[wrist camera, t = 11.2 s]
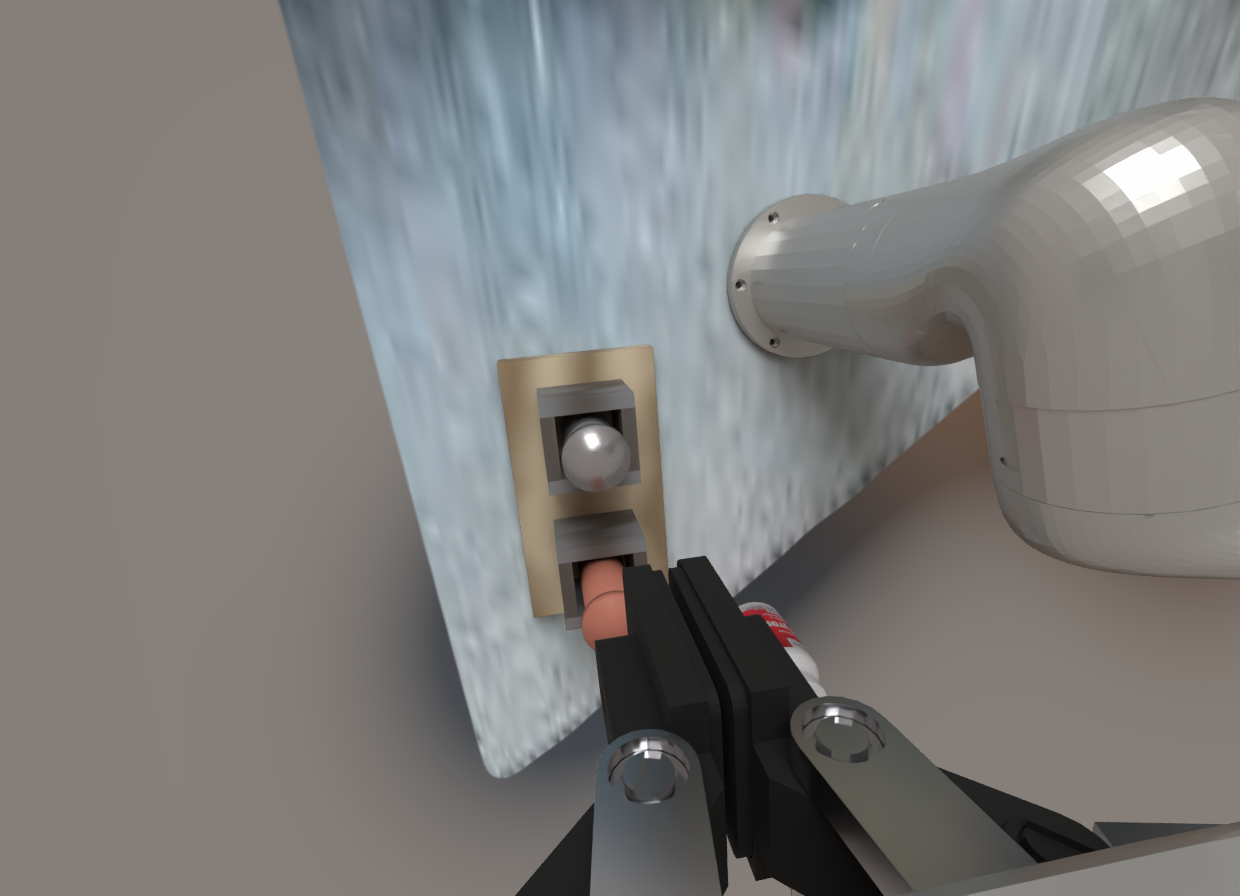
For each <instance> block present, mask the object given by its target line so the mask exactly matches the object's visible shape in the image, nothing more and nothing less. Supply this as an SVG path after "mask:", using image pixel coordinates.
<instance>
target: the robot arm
mask: <svg viewBox="0 0 1240 896" xmlns="http://www.w3.org/2000/svg"><path fill="white" fill-rule="evenodd" d="M769 216H771V217H772V221H771V222H769V220H768V217H769ZM736 282H739V284H740V286H739V288H736V286H735V285H736ZM728 296H729V302H730V306H731V309H732V312H733V314H734V317H735V319H736V321H737V323H738V324H739V326H740V328H741V329H742V331H743V332H744V333H745V334H746V335H747V336H748V337H749V338H750V339H751V341H753V342H754V343H755V344H757V345H758V346H760V347H761V348H762V349H765V350H767V351H769V352H771V353H774V354H777V355H781V356H784V357H792V358H806V357H814V356H817V355H820V354H823V353H826V352H828V351H830V350H832V349H834V348H838V349H842V350H847V351H851V352H856V353H860V354H865V355H869V356H874V357H878V358H883V359H887V360H892V361H896V362H901V363H906V364H911V365H919V366H940V365H947V364H952V363H956V362H959V361H962V360H965V359H968V358H971V357H973V356H974V361H975V367H976V374H977V381H978V385H979V387H980V391H981V398H982V405H983V412H984V419H985V426H986V433H987V440H988V447H989V454H990V461H991V467H992V472H993V478H994V485H995V489H996V494H997V498H998V502H999V505H1000V508H1001V510H1002V513H1003V515H1004V517H1005V519H1006V521H1007V523H1008V524H1009V526H1010V527H1011V528H1012V530H1013V531H1014V532H1015V533H1016V534H1017V535H1018V536H1019V537H1020V538H1021V539H1022V540H1023V541H1024V542H1026V543H1027V544H1028V545H1030V546H1031V547H1032V548H1034V549H1036V550H1038V551H1040V552H1041V553H1043V554H1045V555H1047V556H1050V557H1052V558H1055V559H1058V560H1060V561H1063V562H1066V563H1069V564H1073V565H1077V566H1081V567H1084V568H1089V569H1094V570H1099V571H1106V572H1112V573H1121V574H1129V575H1139V576H1152V577H1169V578H1200V579H1202V578H1203V579H1237V580H1240V102H1239V101H1235V100H1231V99H1224V98H1215V97H1208V98H1187V99H1179V100H1172V101H1168V102H1163V103H1159V104H1155V105H1151V106H1146V107H1142V108H1138V109H1134V110H1131V111H1128V112H1125V113H1121V114H1118V115H1116V116H1113V117H1110V118H1107V119H1105V120H1102V121H1099V122H1097V123H1094V124H1091V125H1089V126H1086V127H1084V128H1081V129H1079V130H1076V131H1074V132H1072V133H1070V134H1067V135H1065V136H1063V137H1061V138H1059V139H1056V140H1054V141H1052V142H1050V143H1048V144H1045V145H1043V146H1041V147H1039V148H1037V149H1035V150H1032V151H1030V152H1028V153H1026V154H1024V155H1021V156H1019V157H1017V158H1015V159H1012V160H1010V161H1008V162H1005V163H1002V164H1000V165H997V166H995V167H992V168H989V169H987V170H984V171H982V172H978V173H975V174H972V175H968V176H965V177H962V178H959V179H955V180H951V181H948V182H944V183H940V184H936V185H932V186H928V187H923V188H919V189H915V190H912V191H908V192H904V193H900V194H895V195H891V196H887V197H883V198H878V199H874V200H870V201H865V202H861V203H857V204H853V205H848V204H846V203H845V202H843V201H841V200H839V199H837V198H834V197H830V196H826V195H822V194H804V195H798V196H793V197H790V198H787V199H784V200H781V201H779V202H777V203H775V204H773V205H771V206H770V207H768V208H766V209H765V210H764V211H763V212H761V213H760V214H759V215H758V216H756V217H755V218H754V219H753V221H752V222H751V223H750V224H749V225H748V226H747V228H746V229H745V230H744V232H743V233H742V235H741V237H740V238H739V240H738V242H737V243H736V246H735V249H734V251H733V254H732V257H731V260H730V265H729V270H728ZM771 339H773V343H772V344H771V345H770V340H771ZM622 578H623V589H624V599H625V610H626V621H627V632H628V635H625V636H619V637H613V638H607V639H601V640H595V652H596V661H597V670H598V678H599V687H600V694H601V701H602V708H603V715H604V721H605V727H606V733H607V739H608V746H607V747H606V749H605V750H604V752H603V753H602V755H601V756H600V758H599V761H598V765H597V769H596V783H595V802H594V804H593V805H592V806H591V807H590V808H589V809H588V810H587V812H586V813H585V814H584V815H583V816H582V817H581V819H580V820H579V821H578V822H577V824H576V825H575V826H574V827H573V828H572V830H571V831H570V832H569V833H568V834H567V835H566V836H565V838H564V839H563V840H562V841H561V842H560V843H559V845H558V846H557V847H556V848H555V849H554V850H553V852H552V853H551V854H550V855H549V856H548V858H547V859H546V860H545V861H544V862H543V863H542V865H541V866H540V867H539V868H538V869H537V871H536V872H535V873H534V874H533V875H532V876H531V878H530V879H529V880H528V881H527V882H526V883H525V885H524V886H523V887H522V888H521V889H520V891H519V892H518V893H517V894H516V895H515V896H723V895H724V893H725V891H726V889H727V887H728V868H727V837H726V834H727V836H728V839H729V842H730V844H731V848H732V850H733V853H734V855H735V857H736V858H743V857H747V859H748V861H749V864H750V867H751V869H752V872H753V875H754V877H755V880H756V881H758V880H763V879H767V878H774V879H776V880H778V881H779V882H781V883H783V884H784V885H786V886H788V887H790V888H791V896H1240V822H1235V823H1230V824H1180V823H1178V824H1177V823H1128V822H1094V827H1093V832H1092V831H1090V830H1089V829H1087V828H1086V827H1084V826H1083V825H1081V824H1080V823H1078V822H1076V821H1074V820H1071V819H1069V818H1067V817H1065V816H1063V815H1061V814H1059V813H1057V812H1054V811H1051V810H1048V809H1046V808H1043V807H1041V806H1038V805H1036V804H1033V803H1030V802H1028V801H1025V800H1022V799H1020V798H1017V797H1015V796H1012V795H1009V794H1007V793H1004V792H1001V791H999V790H996V789H993V788H991V787H988V786H986V785H983V784H980V783H978V782H975V781H973V780H970V779H967V778H965V777H962V776H959V775H957V774H954V773H952V772H949V771H946V770H944V769H941V768H939V767H936V766H935V765H934V764H933V763H932V762H931V761H930V760H929V759H928V758H927V757H926V756H925V755H924V754H923V753H922V752H921V751H920V750H919V749H917V748H916V747H915V746H914V745H913V744H912V743H911V742H910V741H909V740H908V739H907V738H906V737H905V736H904V735H903V734H902V733H901V732H900V731H899V730H898V729H897V728H895V727H894V726H893V725H892V724H891V723H890V722H889V721H888V720H887V719H886V718H885V717H883V716H882V715H881V714H880V713H878V712H877V711H876V710H874V709H873V708H871V707H869V706H867V705H865V704H863V703H861V702H859V701H856V700H852V699H848V698H844V697H835V696H824V697H818V696H817V694H816V693H815V692H814V690H813V689H812V687H811V686H810V684H809V683H808V681H807V680H806V679H805V677H804V676H803V674H802V673H801V671H800V670H799V668H798V667H797V666H796V664H795V663H794V661H793V660H792V658H791V657H790V655H789V654H788V653H787V651H786V650H785V648H784V647H783V645H782V644H781V642H780V641H779V640H778V638H777V637H776V635H775V634H774V632H773V631H772V630H771V628H770V627H769V625H768V624H767V622H766V621H765V619H764V618H763V617H762V616H761V615H759V614H754V615H748V616H744V615H743V613H742V612H741V610H740V609H739V607H738V606H737V604H736V602H735V601H734V599H733V598H732V596H731V594H730V593H729V591H728V590H727V588H726V587H725V585H724V584H723V582H722V580H721V579H720V577H719V576H718V574H717V573H716V571H715V569H714V568H713V566H712V565H711V563H710V562H709V560H708V559H707V557H706V556H700V557H693V558H687V559H680V560H678V561H677V567H675V568H669V570H668V579H669V585H668V583H667V581H666V578H665V576H664V574H663V572H662V570H655V571H653V570H652V568H651V566H650V564H646V565H640V566H633V567H626V568H622Z"/></svg>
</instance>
